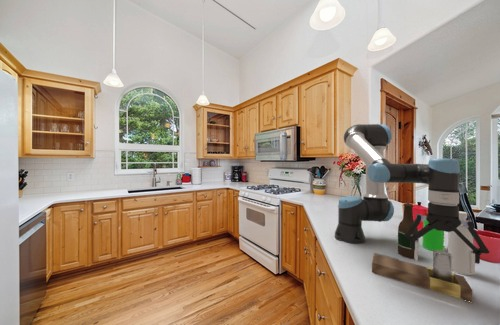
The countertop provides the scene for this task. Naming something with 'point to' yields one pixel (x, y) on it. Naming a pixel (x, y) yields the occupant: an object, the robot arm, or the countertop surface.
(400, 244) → the beer bottle
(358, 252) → the countertop surface
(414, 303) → the countertop surface
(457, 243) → the white bottle
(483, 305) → the countertop surface
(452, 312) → the countertop surface
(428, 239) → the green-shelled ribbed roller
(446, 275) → the peg
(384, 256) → the mat
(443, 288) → the rail
